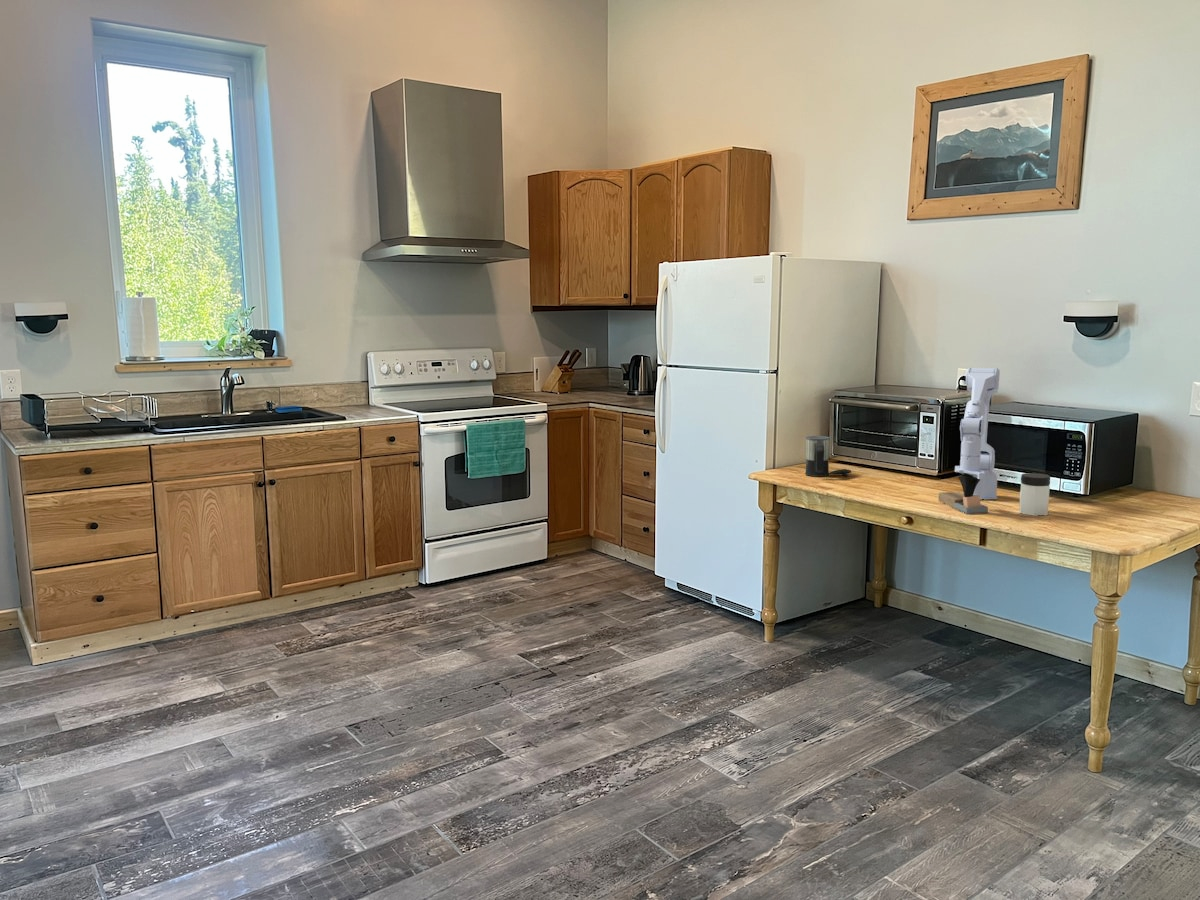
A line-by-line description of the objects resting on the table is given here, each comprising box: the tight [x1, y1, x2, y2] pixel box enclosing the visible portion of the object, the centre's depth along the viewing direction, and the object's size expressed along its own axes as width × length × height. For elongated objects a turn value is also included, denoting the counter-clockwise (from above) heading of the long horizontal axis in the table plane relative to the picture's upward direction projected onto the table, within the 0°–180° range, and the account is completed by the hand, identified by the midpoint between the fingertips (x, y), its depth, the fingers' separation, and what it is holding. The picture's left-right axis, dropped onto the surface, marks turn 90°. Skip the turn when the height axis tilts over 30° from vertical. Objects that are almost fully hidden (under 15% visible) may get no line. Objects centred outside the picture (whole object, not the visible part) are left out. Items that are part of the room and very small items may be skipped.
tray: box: [953, 502, 989, 515], centre depth 275 cm, size 7×8×2 cm
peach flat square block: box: [963, 494, 981, 507], centre depth 274 cm, size 4×4×2 cm
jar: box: [1018, 472, 1051, 517], centre depth 271 cm, size 9×8×12 cm
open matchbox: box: [938, 491, 964, 509], centre depth 284 cm, size 7×10×3 cm, turn 6°
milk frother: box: [804, 435, 852, 477], centre depth 334 cm, size 14×16×15 cm
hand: (968, 498), depth 274 cm, fingers closed, pressing on peach flat square block
